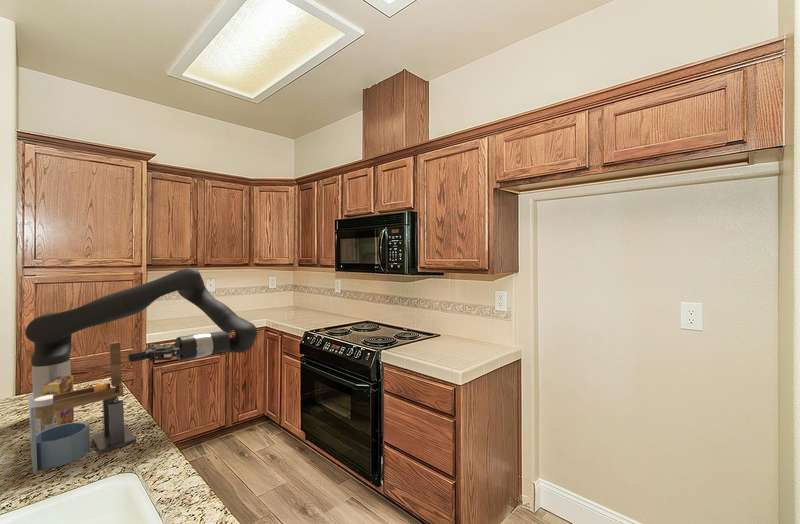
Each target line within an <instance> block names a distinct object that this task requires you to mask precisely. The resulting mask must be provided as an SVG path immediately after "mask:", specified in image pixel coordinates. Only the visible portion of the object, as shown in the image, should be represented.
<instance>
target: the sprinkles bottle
mask: <svg viewBox="0 0 800 524" xmlns="http://www.w3.org/2000/svg"><path fill="white" fill-rule="evenodd" d="M34 407H35V428H36V434H37V433H38V432H41V431H43V430H46V429H48V428H51V427H54V426H57V413H56V412H55V409H54V406H53V395H46V396H41V397H38V398H36V399H35V400H34Z"/></svg>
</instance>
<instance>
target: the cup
mask: <svg viewBox="0 0 800 524" xmlns="http://www.w3.org/2000/svg"><path fill="white" fill-rule="evenodd" d="M27 398H28V399H27V400H28V401H27V402H28V418H29V440H30V459H31V467H32V473H33V475H36V474H38V469H39V470H46V469H52V468H53V469H54V468H58V467H60V466H64V465H67V464H70V463H74V462H75V461H78V460H79V459H81V458H83V457H85V456H86V455H87V454H88V453H89V452H90V451H91V435H90V434H91V432H90V425H89V423H88V422H86V421H85V422H83V421H76V422H75V421H74V422H73V423H66V424H62V425H58V426H54V427H51V428H48V429H46V430H43V431H41V432H38V433H37V434H36V427H35V407H34V402H33V395H28V396H27Z"/></svg>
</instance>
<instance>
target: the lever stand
mask: <svg viewBox="0 0 800 524" xmlns="http://www.w3.org/2000/svg"><path fill="white" fill-rule="evenodd" d="M112 401H113V402H112ZM112 401H111V400H110V399H106V400H102V418H103V419H102V420H103V421H102V422H103V431H102V432H99V433H95V434H92V435H91V437H92V438H91V439H92V440H93V441H92V442H93V443H94V445H95V447H96V449H97V451H98V453H99V454H102V455H103V454H105V453H107V452H111V451H113V450H118V449H120V448H123V447H127V446H129V445H133V444H134V443H137V438H136V436H135V435H134V434H133V432H132V430H131V429H130V428H129V427H128V425H125V415H124V413H125V411H124V401H123V400H122V399H121V400H120V399H119V397H118V398H113V400H112Z"/></svg>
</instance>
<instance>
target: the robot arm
mask: <svg viewBox="0 0 800 524" xmlns="http://www.w3.org/2000/svg"><path fill="white" fill-rule="evenodd" d="M174 292H177V293H178V294H179V295H180V296H181V297H182V298H184V299H185V300H187V301H188V302H189V303H192V304H193V305H194V306H196V307H197V308H198V309H199V310H201V312H203V313H204V314H205V315H206V316H207V317H208V318H209V319H210V321H212V322H213V323H214V324H215V325H216V326H217V327H218V328H219V329H220V330H221V331H213V332H207V333H196V334H191V335H190V334H188V335H183V336H178V337H176V338H175V340H174V341H175V342H174V343H173V344H170V343H163V344H162V345H161V344H160V343H158V344H156V345H153V346H149V347H147V348H144V350H143V351H137V352H132V353H128V355H127V358H128V359H127V360H128V362H130V363H134V362H138V361H139V362H140V361H143V360H145V361H149V362H153V361H155V362H156V361H171V360H172V359H173V357H176V359H177V361H178V362H184V361H188V360H193V359H199V358H203V357H206V356H210V355H214V354H219V353H232V354H233V353H235V354H237V353H240V354H243V353H245V352H248V351H250V350H251V349H252V348H253V346H254V344H255V341H256V338H257V336H258V329H257V327H256V326H255V324H253V323H252V322H251V321H249V320H246V319H245V318H243V317H240V316H239V315H238V314H236V313H235V312H234V311H233V309H231V308H230V307H229V306H227V305H226V304H225V303H223V302H222V301H220V300H218V299H216V298H215V297H214V296H213V295H212V294H211V293H210V291H209V290H208V288H207V287H206V285H205V282H204V280H203V277H202V275H201V273H200V272H199V270H197V269H196V268H191V267H188V268H182V269H180V270H179V269H178V270H177V271H174V272H172V273H169V274H166V275H164V276H161V277H159V278H157V279H154V280H152V281H148V282H145V283H142V284H139V285H136V286H133V287H129V288H127V289H126V288H125V289H122V290H119V291H116V292H113V293H111V294H108V295H104V296H102V297H99V298H97V299H94V300H92V301H90V302H88V303H87V302H86V303H85V304H83V305H80V306H78V307H75V308H73V309H69V310H64V311H60V312H48V313H45V314H42V315H39V316H38V317H35V318H33V320H31V321H30V322H29V323H28V324H27V326H26V327H25V332H24V334H25V336H26V338H27V340H29V341H30V342H32V343H34V350H33V353H32V356H31V358H30V359H31V360H30V361H31V375H32V376H31V378H32V382H31V383H32V398H33V402H34V400H35V399H36V398H38V397H41V396H43V387H42V386H43V385H45V384H46V383H48V382H50V381H52V380H53V379H55V378H56V377H59V376H66V375H72V374H71V351H72V334H75V333H78V332H79V331H83V330H85V329H88V328H91V327H95V326H96V327H97V326H100V325H103V324H107V323H110V322H111V323H112V322H114V321H118V320H121V319H125V318H127V317H130V316H133V315H136V314H138V313H140V312H143V311H144V310H145V309H147V307H150V305H151V304H153V303H154V302H155V301H157V300H158V299H160V298H161V297H163V296H165V295H168V294H172V293H174ZM232 332H234V335H233V337H230V336H229V333H232Z"/></svg>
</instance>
